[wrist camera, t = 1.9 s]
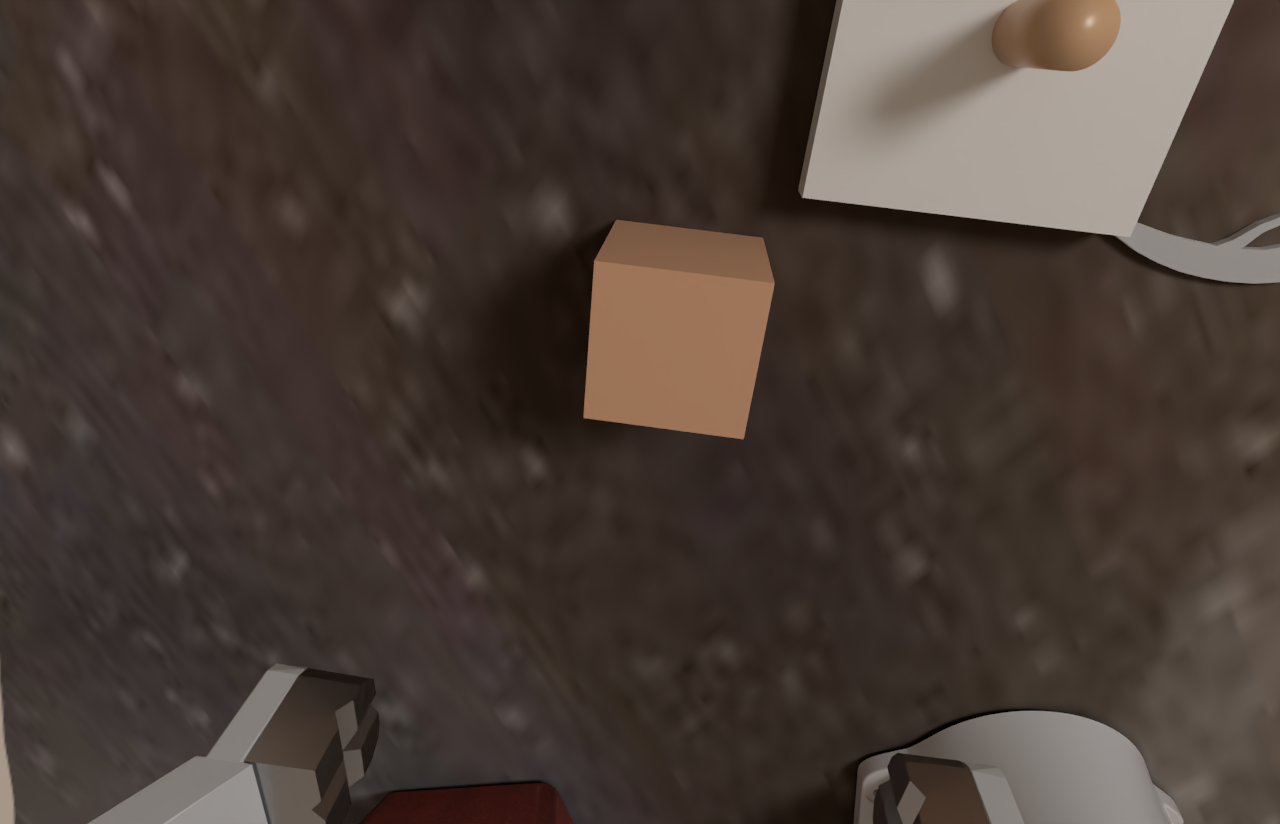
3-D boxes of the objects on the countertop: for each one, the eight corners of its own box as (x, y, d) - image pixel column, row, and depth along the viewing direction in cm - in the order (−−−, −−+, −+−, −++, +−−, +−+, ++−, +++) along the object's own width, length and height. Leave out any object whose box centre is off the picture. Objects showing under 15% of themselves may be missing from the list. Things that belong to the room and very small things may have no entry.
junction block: (1109, 227, 27) (1197, 268, 22) (798, 190, 27) (816, 222, 22) (1277, -170, 21) (1445, -233, 16) (878, -210, 21) (927, -283, 17)
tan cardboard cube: (738, 371, 31) (743, 439, 26) (605, 354, 31) (583, 417, 26) (763, 237, 28) (774, 283, 23) (616, 219, 28) (594, 260, 23)
